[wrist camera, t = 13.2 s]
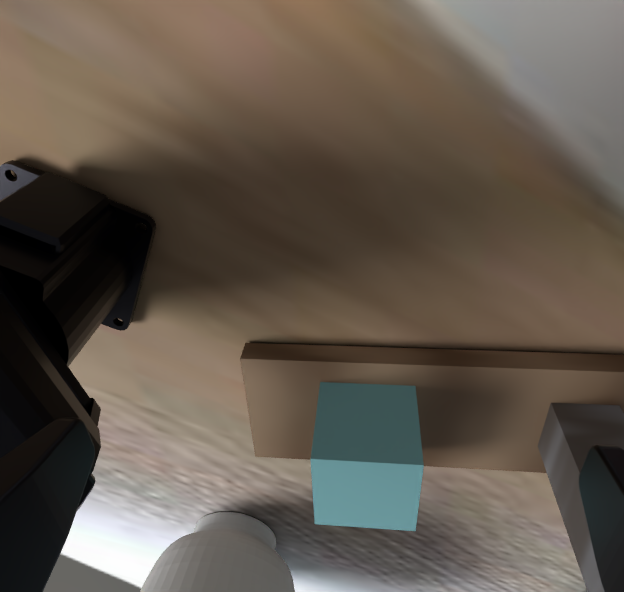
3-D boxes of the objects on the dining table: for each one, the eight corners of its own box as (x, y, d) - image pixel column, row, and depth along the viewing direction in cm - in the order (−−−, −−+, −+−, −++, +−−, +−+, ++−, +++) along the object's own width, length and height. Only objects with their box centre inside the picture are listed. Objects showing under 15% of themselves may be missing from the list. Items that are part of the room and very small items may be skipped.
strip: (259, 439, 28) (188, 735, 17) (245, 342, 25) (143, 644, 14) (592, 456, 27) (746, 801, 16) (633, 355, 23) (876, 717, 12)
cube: (322, 445, 26) (314, 524, 23) (320, 382, 24) (310, 459, 20) (409, 449, 26) (415, 531, 22) (415, 385, 23) (423, 465, 20)
